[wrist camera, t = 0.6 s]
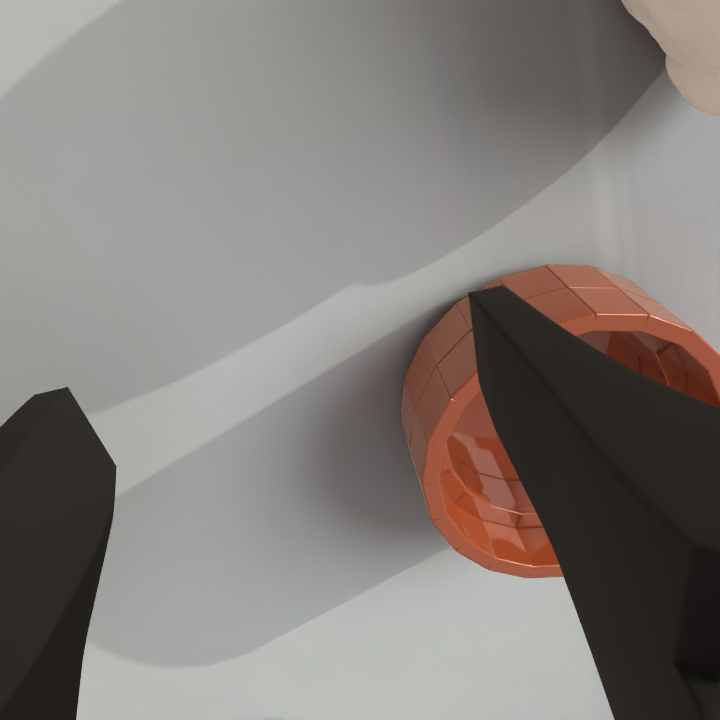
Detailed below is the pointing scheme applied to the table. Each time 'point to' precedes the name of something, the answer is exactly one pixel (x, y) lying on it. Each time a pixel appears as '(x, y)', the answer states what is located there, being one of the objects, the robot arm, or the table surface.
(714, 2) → the rabbit
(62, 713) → the robot arm
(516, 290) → the bowl
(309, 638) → the table surface
